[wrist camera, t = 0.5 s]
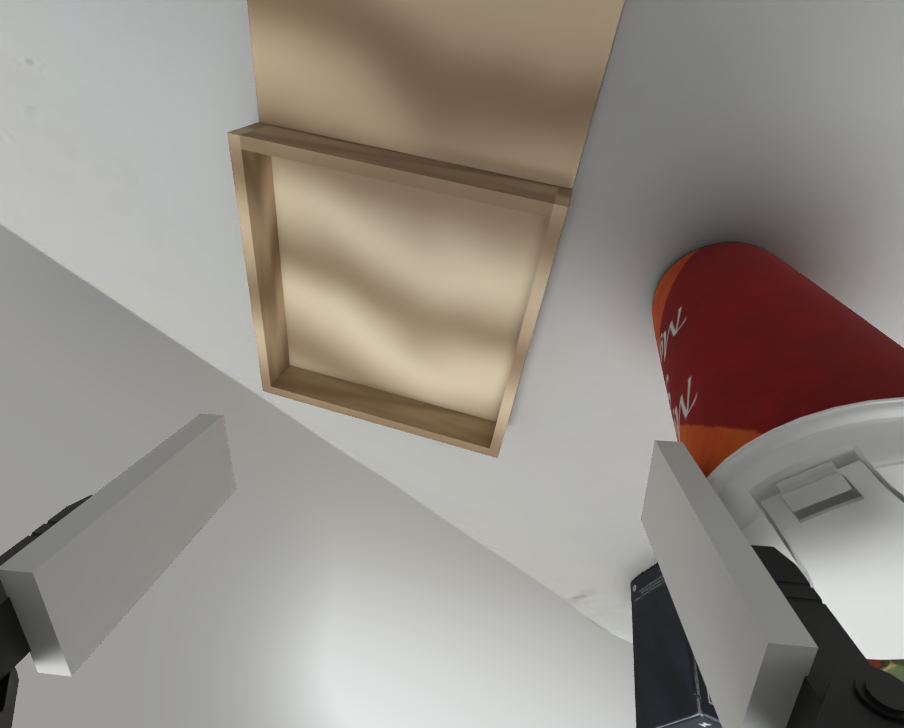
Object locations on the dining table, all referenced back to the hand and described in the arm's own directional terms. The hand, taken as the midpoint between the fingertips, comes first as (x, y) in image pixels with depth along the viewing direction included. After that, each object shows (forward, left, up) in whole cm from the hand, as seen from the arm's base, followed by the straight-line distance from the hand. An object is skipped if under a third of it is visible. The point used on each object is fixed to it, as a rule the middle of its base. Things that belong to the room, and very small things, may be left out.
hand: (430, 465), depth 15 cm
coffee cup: (-1, +10, -14) cm, 17 cm away
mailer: (-1, -6, -14) cm, 15 cm away
